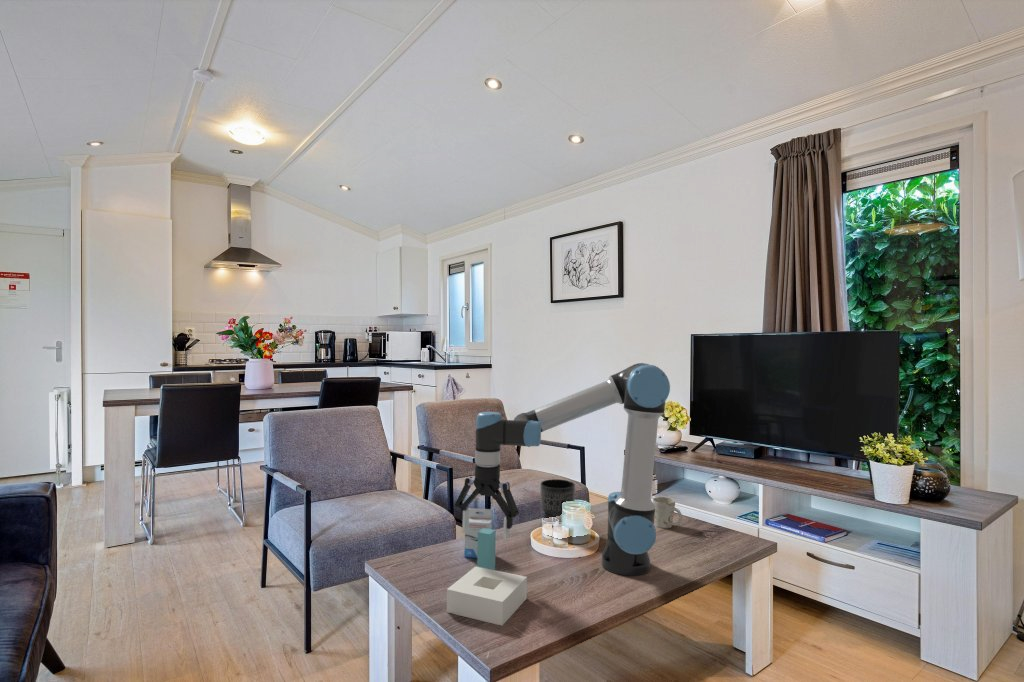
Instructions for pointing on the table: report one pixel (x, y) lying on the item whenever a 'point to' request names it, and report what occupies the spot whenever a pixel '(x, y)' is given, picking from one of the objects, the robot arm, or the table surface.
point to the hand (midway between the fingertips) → (485, 535)
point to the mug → (665, 512)
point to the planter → (555, 496)
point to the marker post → (486, 548)
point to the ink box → (476, 529)
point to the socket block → (487, 595)
